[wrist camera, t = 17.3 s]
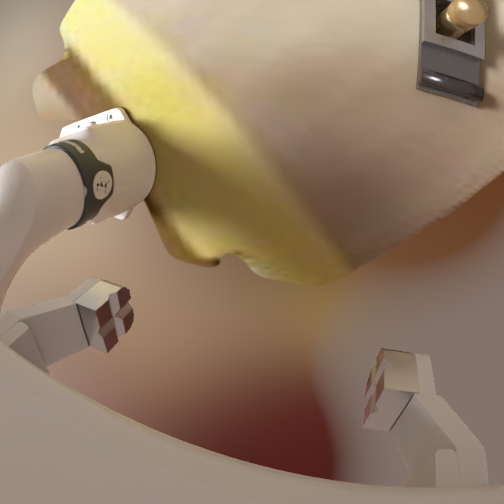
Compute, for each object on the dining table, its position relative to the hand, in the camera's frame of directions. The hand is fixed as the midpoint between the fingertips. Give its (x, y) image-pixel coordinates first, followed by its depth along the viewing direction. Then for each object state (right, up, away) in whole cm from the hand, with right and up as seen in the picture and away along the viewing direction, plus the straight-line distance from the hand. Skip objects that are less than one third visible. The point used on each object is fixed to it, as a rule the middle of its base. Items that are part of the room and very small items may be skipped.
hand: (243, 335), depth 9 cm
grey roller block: (+25, +30, +17) cm, 42 cm away
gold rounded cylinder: (+25, +30, +17) cm, 42 cm away
